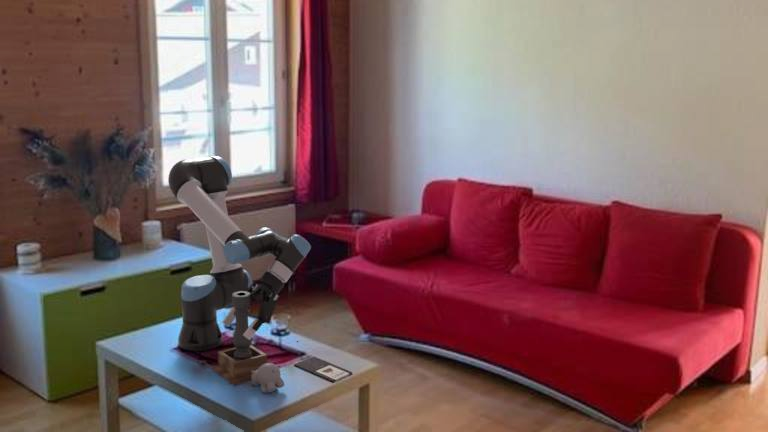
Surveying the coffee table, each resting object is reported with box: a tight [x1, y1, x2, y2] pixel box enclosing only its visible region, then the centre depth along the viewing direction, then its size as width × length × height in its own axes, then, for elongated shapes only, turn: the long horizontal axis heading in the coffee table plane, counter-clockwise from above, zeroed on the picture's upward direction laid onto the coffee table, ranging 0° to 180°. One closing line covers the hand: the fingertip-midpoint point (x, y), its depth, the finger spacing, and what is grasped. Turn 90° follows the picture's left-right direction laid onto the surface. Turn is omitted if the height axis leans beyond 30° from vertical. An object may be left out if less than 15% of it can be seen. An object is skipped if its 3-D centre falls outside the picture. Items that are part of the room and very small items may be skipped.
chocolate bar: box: [293, 355, 353, 383], centre depth 253 cm, size 9×1×18 cm
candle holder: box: [232, 291, 253, 361], centre depth 247 cm, size 6×6×25 cm
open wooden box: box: [212, 344, 268, 386], centre depth 249 cm, size 14×14×6 cm
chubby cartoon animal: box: [250, 362, 285, 394], centre depth 238 cm, size 7×12×8 cm, turn 49°
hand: (235, 331), depth 245 cm, fingers open, 13 cm apart
